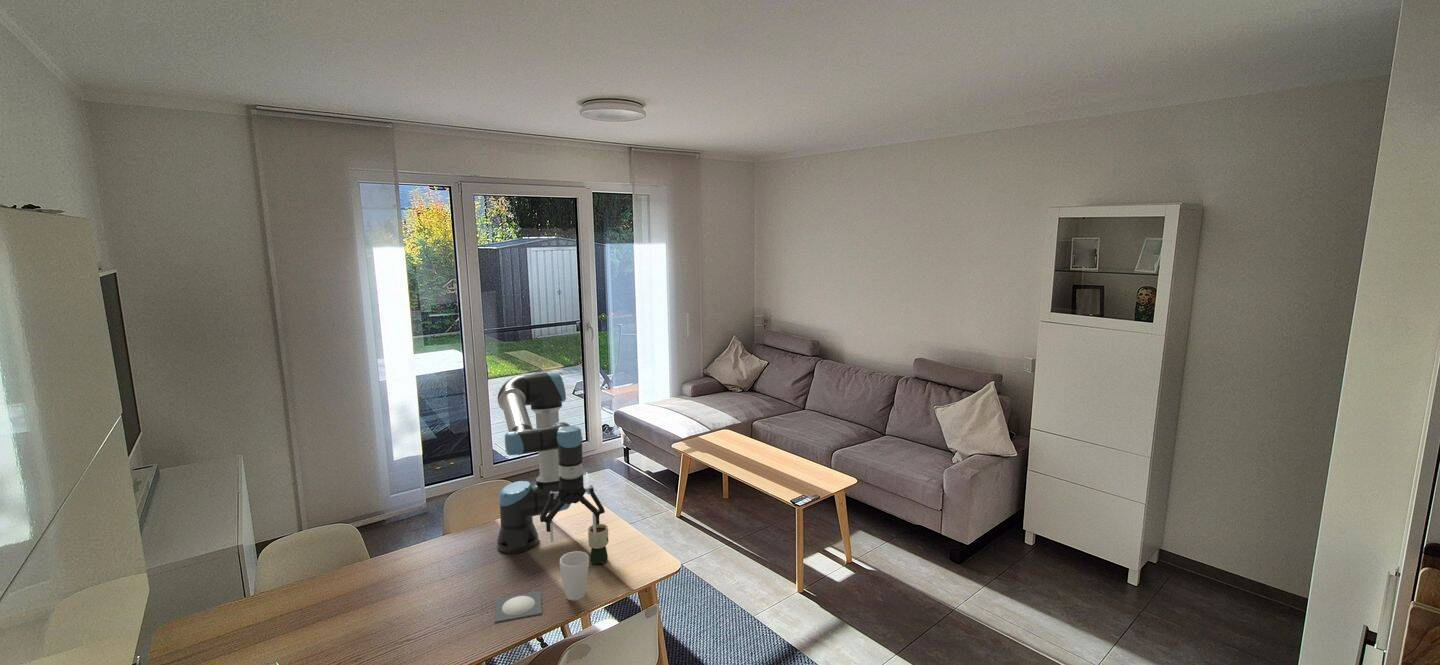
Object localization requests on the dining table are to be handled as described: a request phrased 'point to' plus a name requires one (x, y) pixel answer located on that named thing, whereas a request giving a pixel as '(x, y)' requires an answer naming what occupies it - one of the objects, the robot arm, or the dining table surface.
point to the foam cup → (574, 574)
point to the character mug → (598, 543)
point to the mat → (518, 606)
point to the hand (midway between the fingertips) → (573, 537)
